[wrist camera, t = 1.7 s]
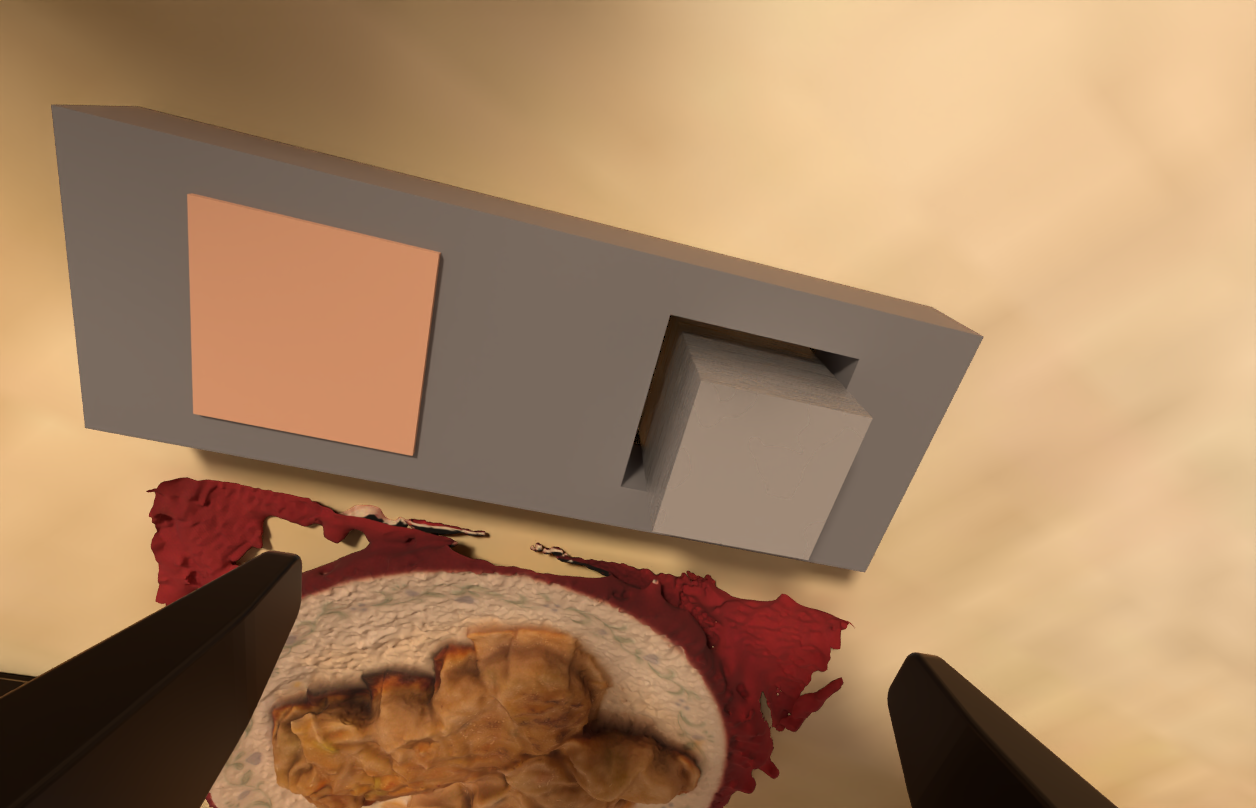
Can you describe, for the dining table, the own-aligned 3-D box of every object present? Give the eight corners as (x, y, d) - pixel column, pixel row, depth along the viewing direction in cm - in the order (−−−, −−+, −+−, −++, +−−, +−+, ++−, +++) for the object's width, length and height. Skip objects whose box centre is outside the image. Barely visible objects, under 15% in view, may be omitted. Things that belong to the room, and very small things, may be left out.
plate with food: (184, 447, 22) (114, 502, 19) (844, 598, 26) (875, 665, 23) (184, 844, 32) (137, 923, 29) (666, 917, 35) (670, 995, 32)
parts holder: (834, 520, 24) (867, 576, 21) (153, 386, 21) (79, 431, 18) (932, 307, 21) (987, 338, 18) (138, 106, 17) (43, 104, 14)
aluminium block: (757, 453, 23) (808, 560, 17) (638, 428, 22) (652, 531, 17) (800, 339, 21) (872, 417, 15) (673, 309, 20) (700, 380, 15)
